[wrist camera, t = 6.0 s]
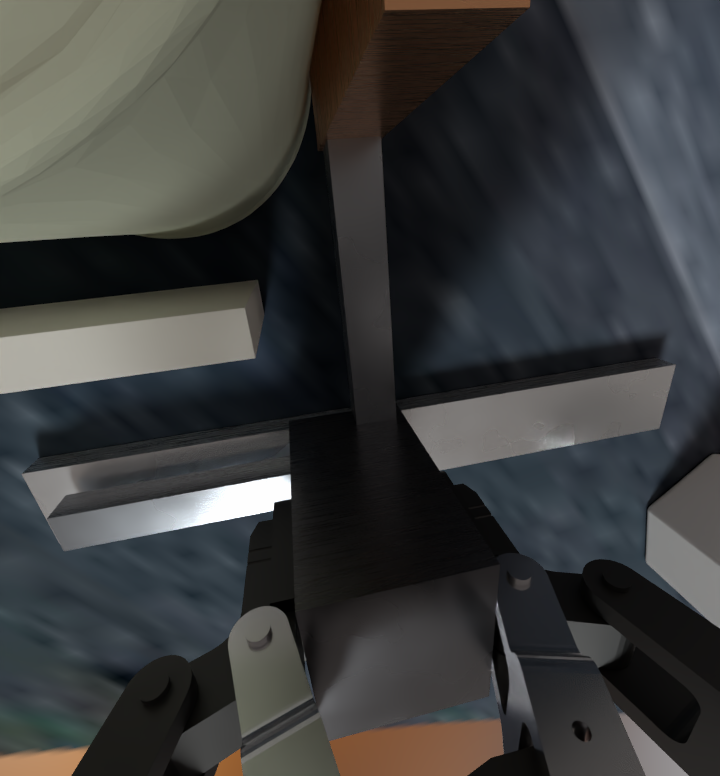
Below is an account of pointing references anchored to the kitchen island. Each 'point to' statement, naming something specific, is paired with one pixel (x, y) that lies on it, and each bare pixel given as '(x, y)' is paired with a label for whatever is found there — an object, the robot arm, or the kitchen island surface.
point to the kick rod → (357, 418)
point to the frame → (128, 335)
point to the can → (148, 113)
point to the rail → (425, 415)
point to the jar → (689, 537)
